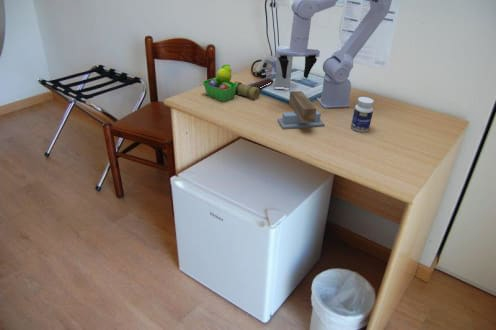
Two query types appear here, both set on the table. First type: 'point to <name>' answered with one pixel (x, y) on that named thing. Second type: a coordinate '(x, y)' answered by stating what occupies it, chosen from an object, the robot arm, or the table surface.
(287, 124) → the fulcrum
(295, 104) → the walnut bar
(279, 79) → the skincare box
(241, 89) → the gavel
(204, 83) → the fruit basket
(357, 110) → the pill bottle
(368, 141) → the table surface
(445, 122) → the table surface
